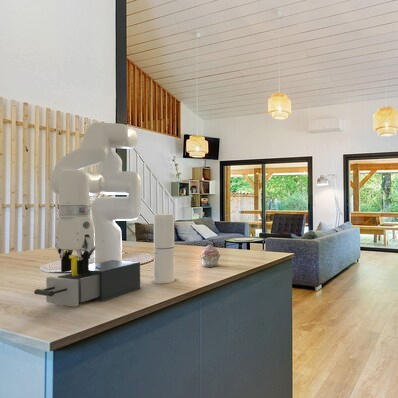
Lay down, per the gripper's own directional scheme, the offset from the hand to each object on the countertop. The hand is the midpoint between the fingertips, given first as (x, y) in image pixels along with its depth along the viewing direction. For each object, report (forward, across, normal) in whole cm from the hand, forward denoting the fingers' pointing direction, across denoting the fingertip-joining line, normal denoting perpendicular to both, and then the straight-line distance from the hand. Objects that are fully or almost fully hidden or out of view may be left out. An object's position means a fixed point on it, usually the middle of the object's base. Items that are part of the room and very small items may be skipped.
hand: (75, 271), depth 96 cm
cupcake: (+10, -8, -57) cm, 58 cm away
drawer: (+8, 0, 0) cm, 8 cm away
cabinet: (+9, 0, -11) cm, 14 cm away
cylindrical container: (+10, -7, -29) cm, 31 cm away
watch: (+1, 0, 0) cm, 1 cm away
